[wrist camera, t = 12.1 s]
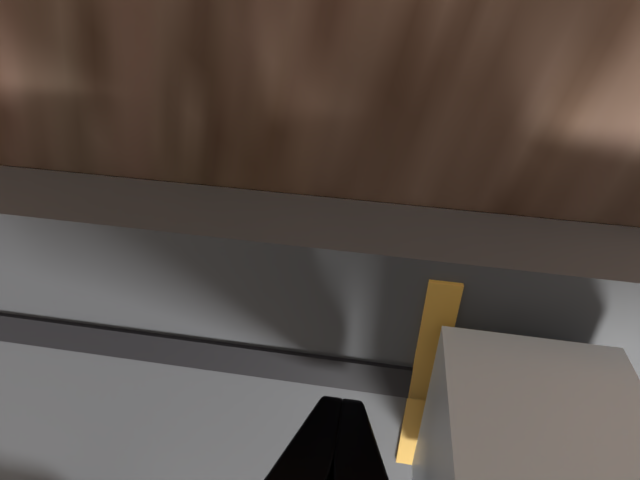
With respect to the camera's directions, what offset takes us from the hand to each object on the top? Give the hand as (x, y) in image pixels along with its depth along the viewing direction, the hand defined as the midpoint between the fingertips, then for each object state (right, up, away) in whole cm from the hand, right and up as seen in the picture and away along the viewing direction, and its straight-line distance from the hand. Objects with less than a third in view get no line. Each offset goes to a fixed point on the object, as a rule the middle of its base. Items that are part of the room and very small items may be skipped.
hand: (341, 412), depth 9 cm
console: (-2, -2, +5) cm, 6 cm away
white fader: (+3, 0, 0) cm, 3 cm away
